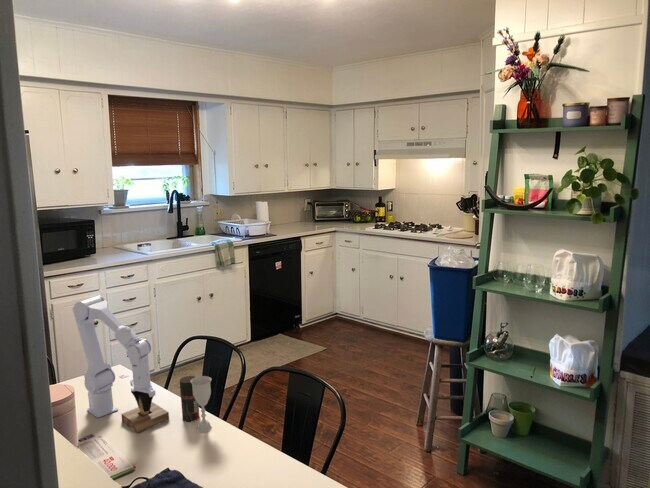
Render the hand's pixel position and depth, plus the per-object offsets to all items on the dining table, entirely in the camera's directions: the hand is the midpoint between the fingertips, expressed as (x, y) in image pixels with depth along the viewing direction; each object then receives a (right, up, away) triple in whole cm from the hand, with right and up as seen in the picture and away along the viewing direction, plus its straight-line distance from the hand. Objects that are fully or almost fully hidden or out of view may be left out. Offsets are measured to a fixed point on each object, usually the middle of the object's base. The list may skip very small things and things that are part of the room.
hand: (144, 409), depth 190 cm
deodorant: (+16, -4, +2) cm, 17 cm away
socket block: (0, -4, +1) cm, 4 cm away
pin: (0, -3, 0) cm, 3 cm away
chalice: (+23, -5, -5) cm, 24 cm away
